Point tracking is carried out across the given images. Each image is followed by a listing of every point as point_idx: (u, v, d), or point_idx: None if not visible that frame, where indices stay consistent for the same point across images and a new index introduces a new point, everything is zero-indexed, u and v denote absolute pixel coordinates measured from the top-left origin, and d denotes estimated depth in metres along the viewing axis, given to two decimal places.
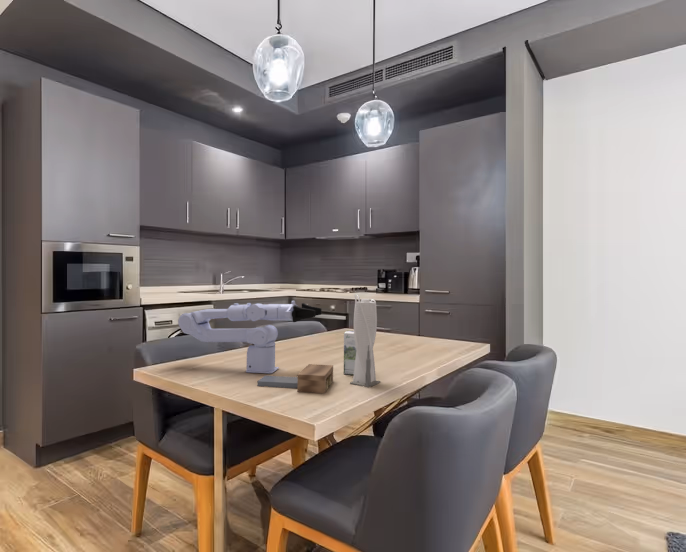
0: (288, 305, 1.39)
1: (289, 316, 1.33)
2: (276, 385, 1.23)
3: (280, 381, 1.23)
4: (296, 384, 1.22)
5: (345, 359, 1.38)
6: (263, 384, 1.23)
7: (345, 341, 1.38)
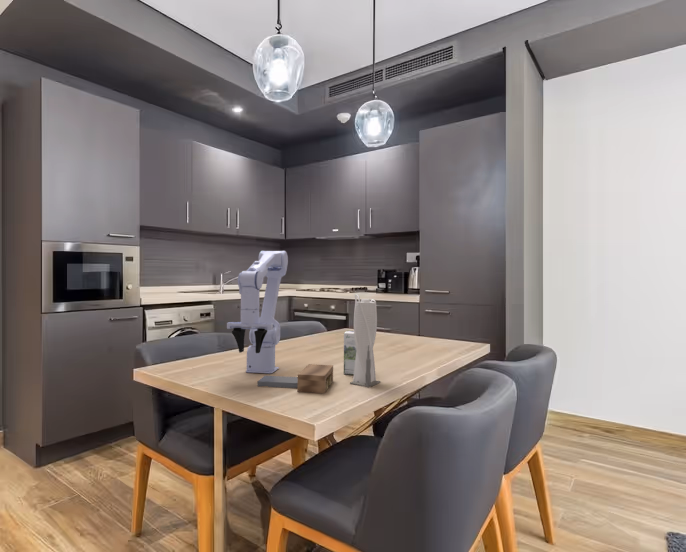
0: (242, 320, 1.25)
1: None
2: (276, 385, 1.23)
3: (280, 381, 1.23)
4: (296, 384, 1.22)
5: (345, 359, 1.38)
6: (263, 384, 1.23)
7: (345, 341, 1.38)
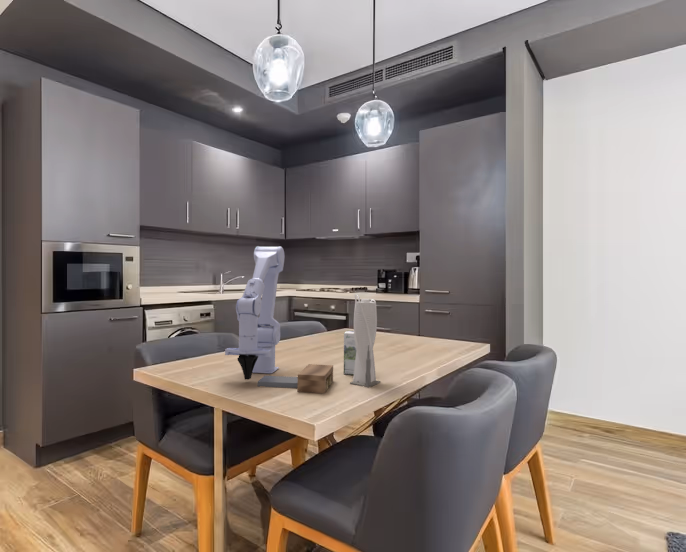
0: (241, 347, 1.25)
1: None
2: (276, 385, 1.22)
3: (280, 381, 1.23)
4: (297, 384, 1.22)
5: (345, 359, 1.38)
6: (263, 385, 1.23)
7: (345, 341, 1.38)
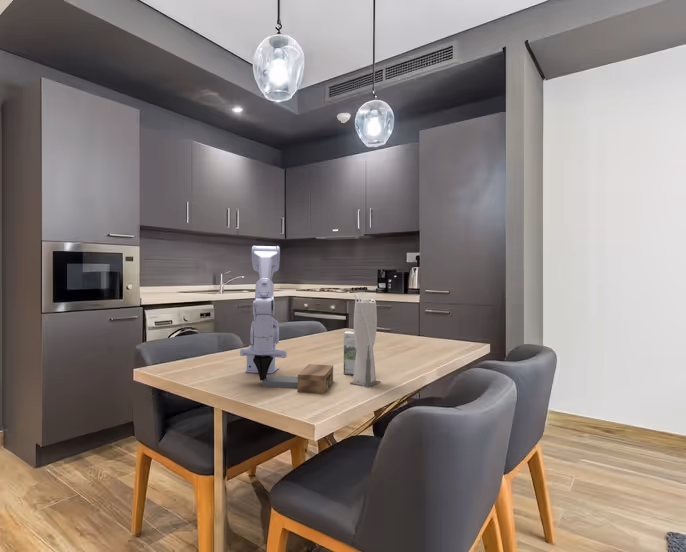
0: (256, 348, 1.25)
1: None
2: (281, 385, 1.22)
3: (285, 381, 1.23)
4: None
5: (345, 359, 1.38)
6: (267, 384, 1.23)
7: (345, 341, 1.38)
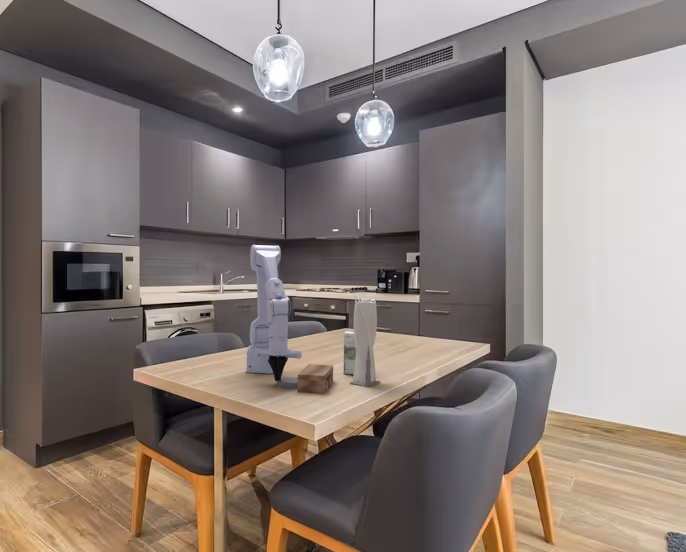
0: (271, 349, 1.24)
1: None
2: (295, 386, 1.21)
3: None
4: None
5: (345, 359, 1.38)
6: (282, 385, 1.22)
7: (345, 341, 1.38)
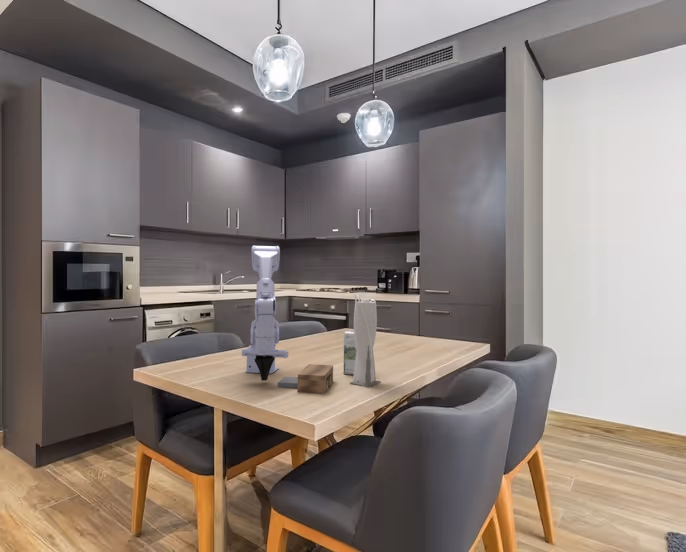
0: (258, 348, 1.25)
1: None
2: (297, 386, 1.21)
3: None
4: None
5: (345, 359, 1.38)
6: (283, 386, 1.22)
7: (345, 341, 1.38)
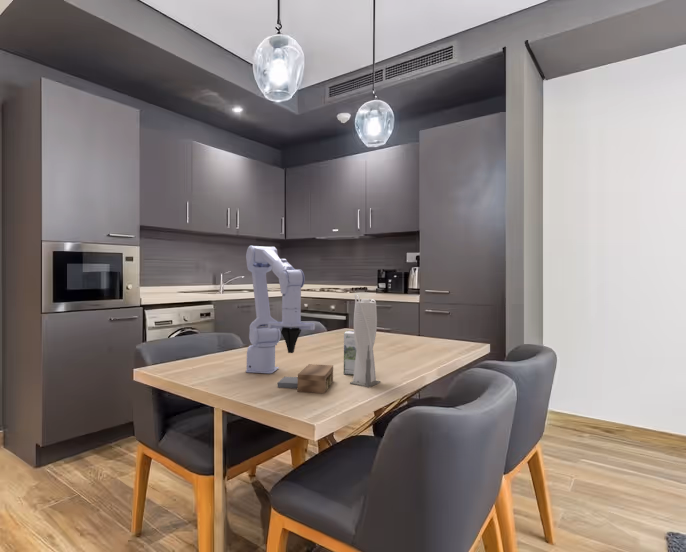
0: (284, 320, 1.23)
1: None
2: (297, 386, 1.21)
3: None
4: None
5: (345, 359, 1.38)
6: (283, 386, 1.22)
7: (345, 341, 1.38)
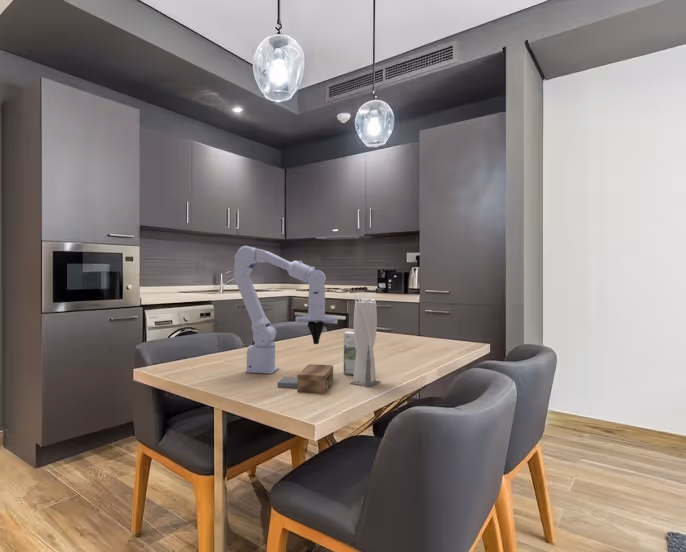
0: (311, 315, 1.39)
1: None
2: (297, 386, 1.21)
3: None
4: None
5: (345, 359, 1.38)
6: (283, 386, 1.22)
7: (345, 341, 1.38)
